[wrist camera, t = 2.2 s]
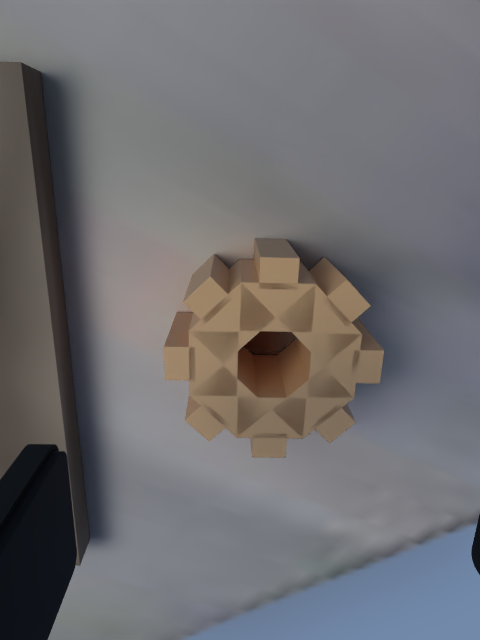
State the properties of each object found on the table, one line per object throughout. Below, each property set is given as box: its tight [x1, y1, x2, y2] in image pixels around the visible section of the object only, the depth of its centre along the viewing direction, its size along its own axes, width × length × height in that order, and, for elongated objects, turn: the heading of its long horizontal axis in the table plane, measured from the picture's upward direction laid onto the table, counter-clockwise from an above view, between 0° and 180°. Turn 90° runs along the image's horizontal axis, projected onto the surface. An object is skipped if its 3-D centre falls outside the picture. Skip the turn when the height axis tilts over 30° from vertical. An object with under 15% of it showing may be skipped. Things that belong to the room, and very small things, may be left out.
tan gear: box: [164, 239, 384, 458], centre depth 17 cm, size 7×7×4 cm
